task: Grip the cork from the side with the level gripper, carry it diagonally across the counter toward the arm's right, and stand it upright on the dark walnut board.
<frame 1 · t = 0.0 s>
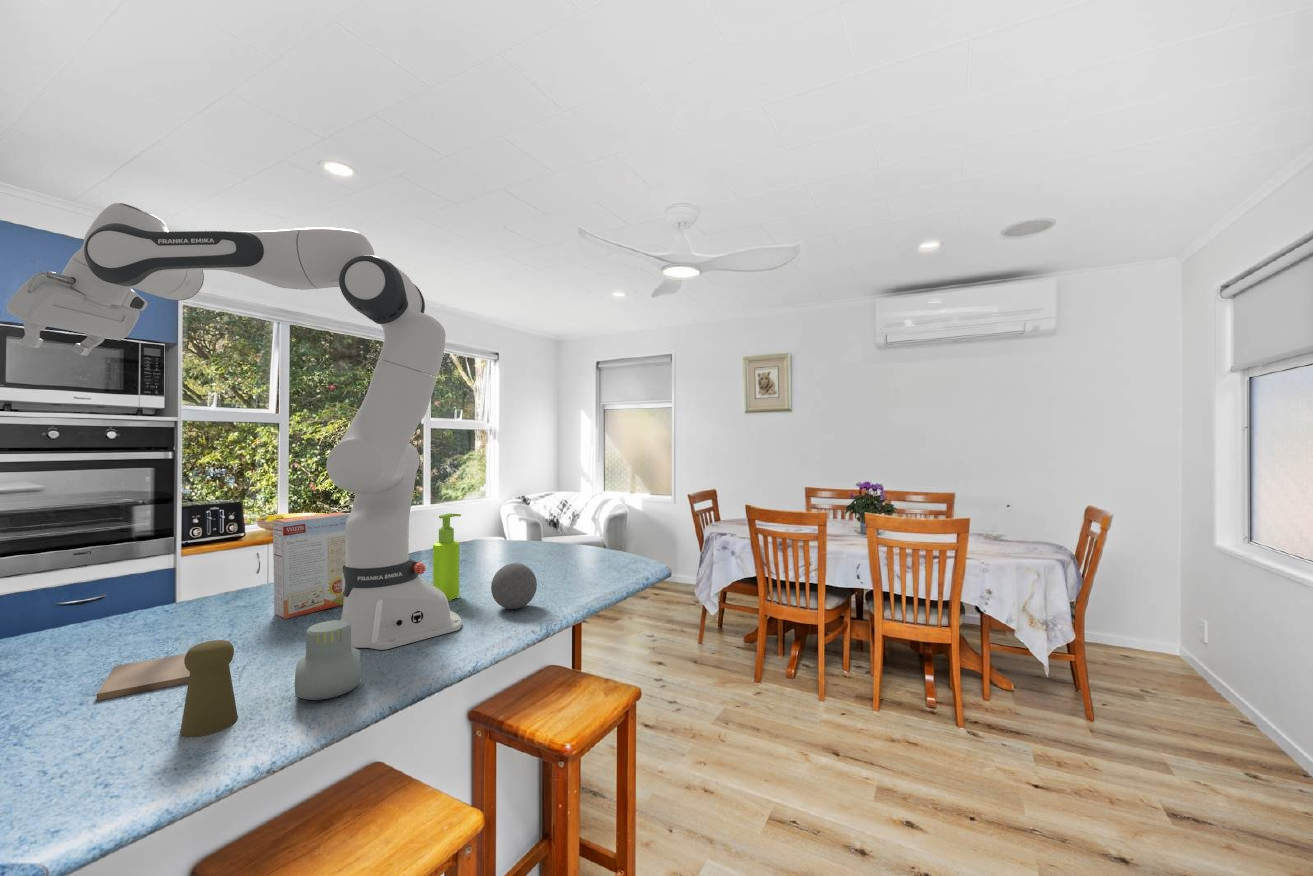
hand: (55, 350, 101), 54 cm above the countertop, tool tilted 30°, fingers open, 8 cm apart
cork: (209, 726, 74), on the countertop
soap dispenser: (447, 598, 133), on the countertop
decorative ball: (514, 609, 125), on the countertop
walnut board: (157, 676, 89), on the countertop
cracker box: (313, 610, 124), on the countertop
air freshener: (329, 693, 84), on the countertop
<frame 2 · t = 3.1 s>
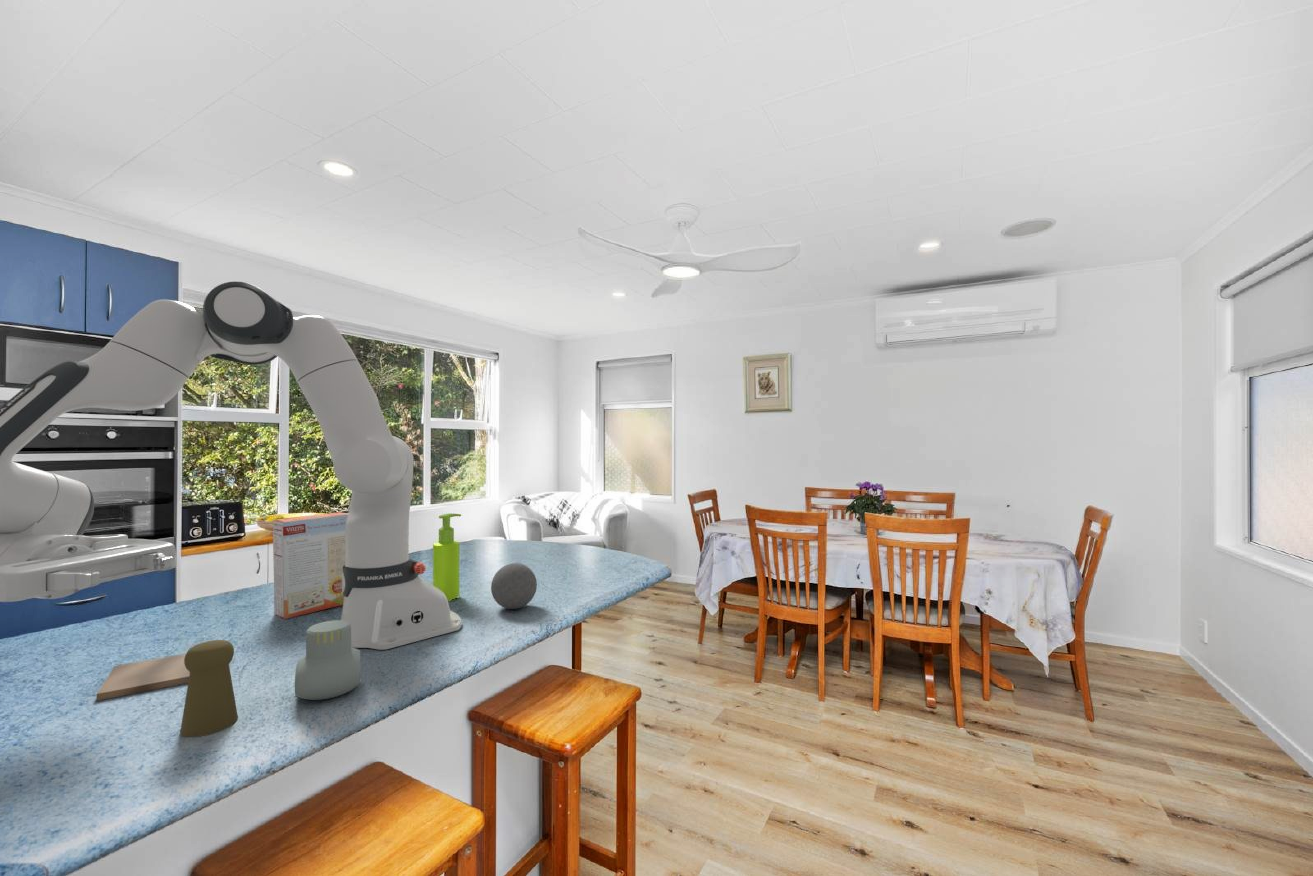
hand: (133, 571, 76), 20 cm above the countertop, tool horizontal, fingers open, 8 cm apart
nothing on the countertop moved.
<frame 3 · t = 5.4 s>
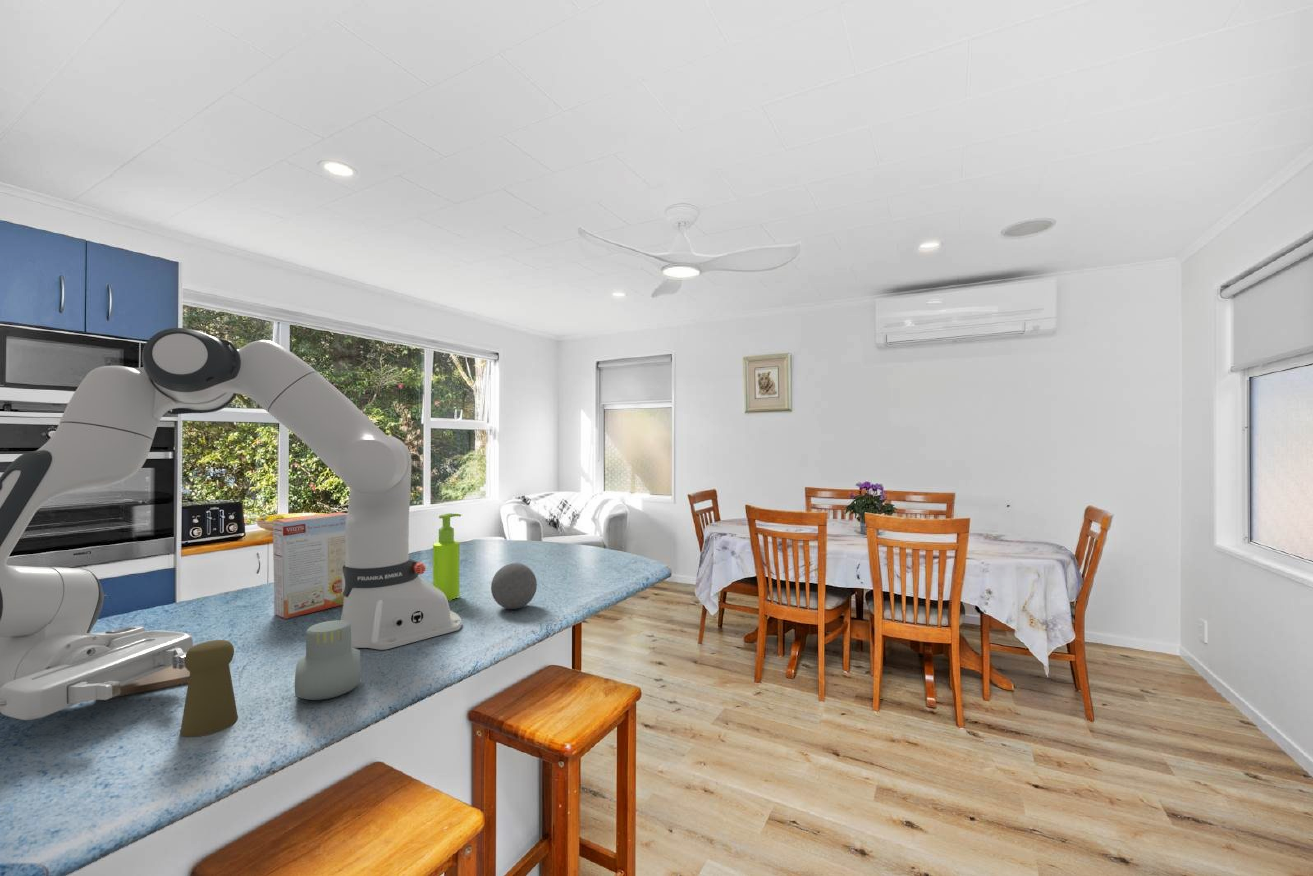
hand: (153, 675, 76), 6 cm above the countertop, tool horizontal, fingers open, 8 cm apart
nothing on the countertop moved.
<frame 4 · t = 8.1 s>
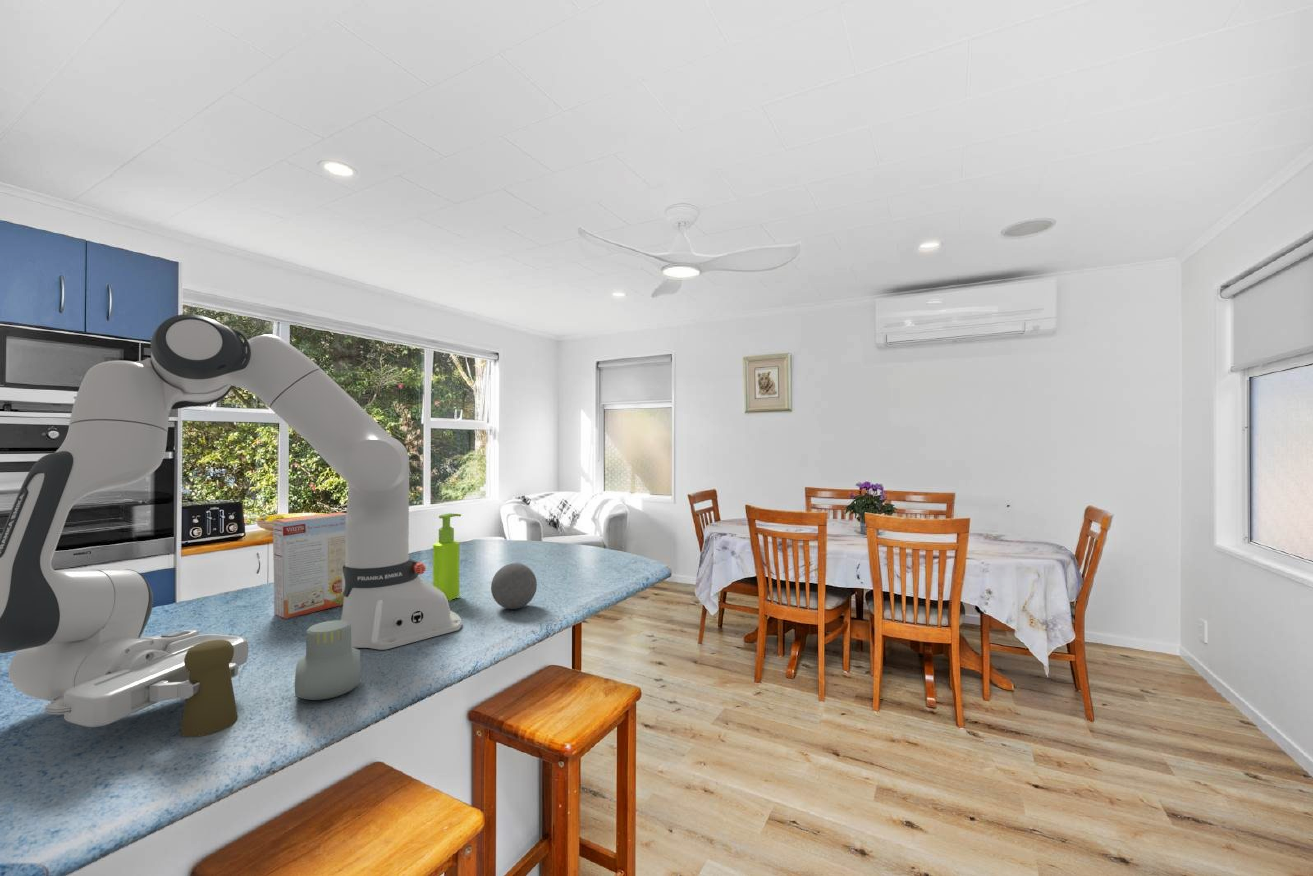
hand: (215, 680, 74), 6 cm above the countertop, tool horizontal, fingers closed on cork, 4 cm apart
cork: (209, 726, 74), on the countertop, touching gripper
everything else where it was.
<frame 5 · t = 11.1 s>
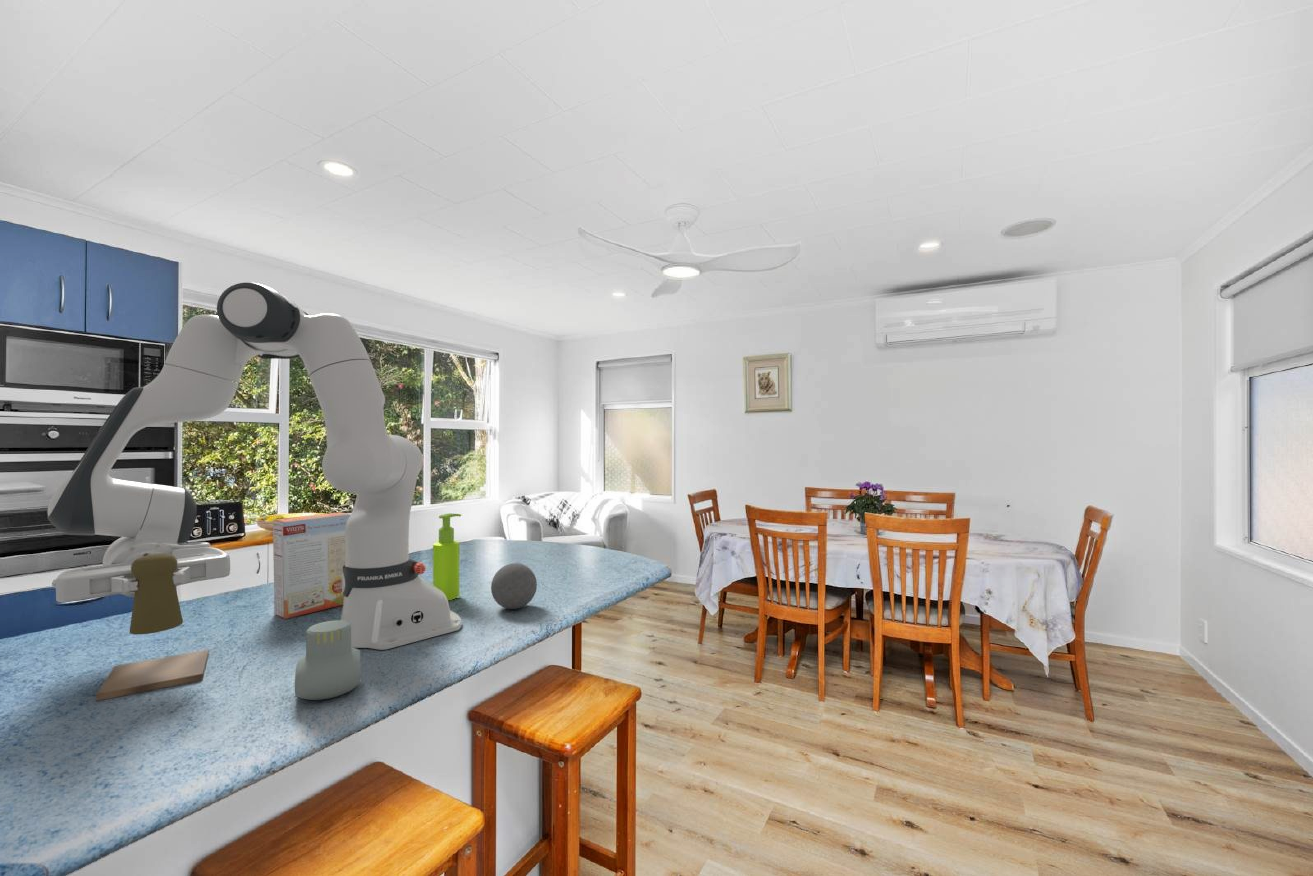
hand: (155, 583, 83), 17 cm above the countertop, tool horizontal, fingers closed on cork, 4 cm apart
cork: (156, 628, 84), point 10 cm above the countertop, touching gripper
everything else where it was.
when the fingers open (8 cm above the countertop, at t = 14.0 s): cork moves 2 cm, point 1 cm above the countertop.
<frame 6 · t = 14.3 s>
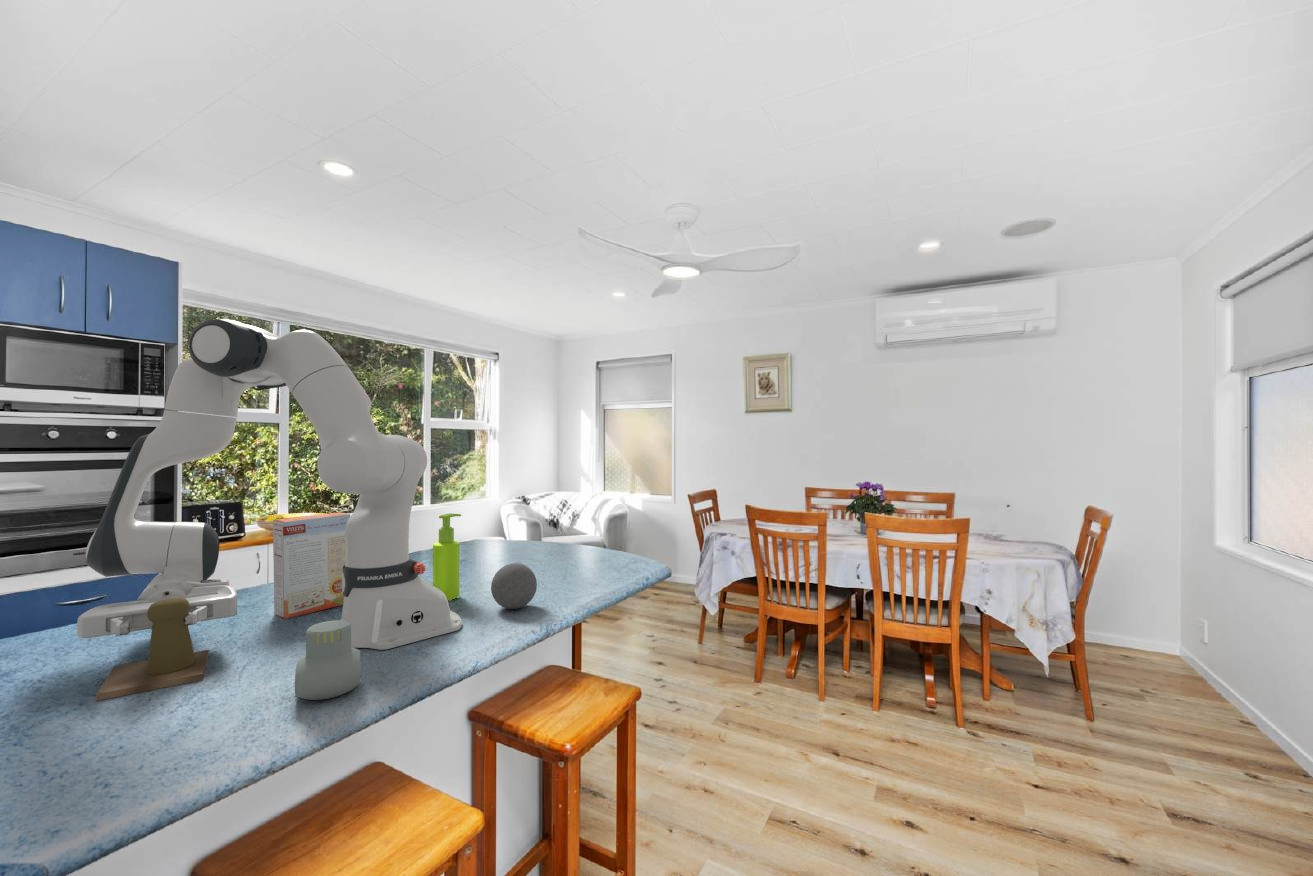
hand: (157, 625, 88), 8 cm above the countertop, tool horizontal, fingers open, 7 cm apart
cork: (171, 667, 90), point 1 cm above the countertop, touching gripper
everything else where it was.
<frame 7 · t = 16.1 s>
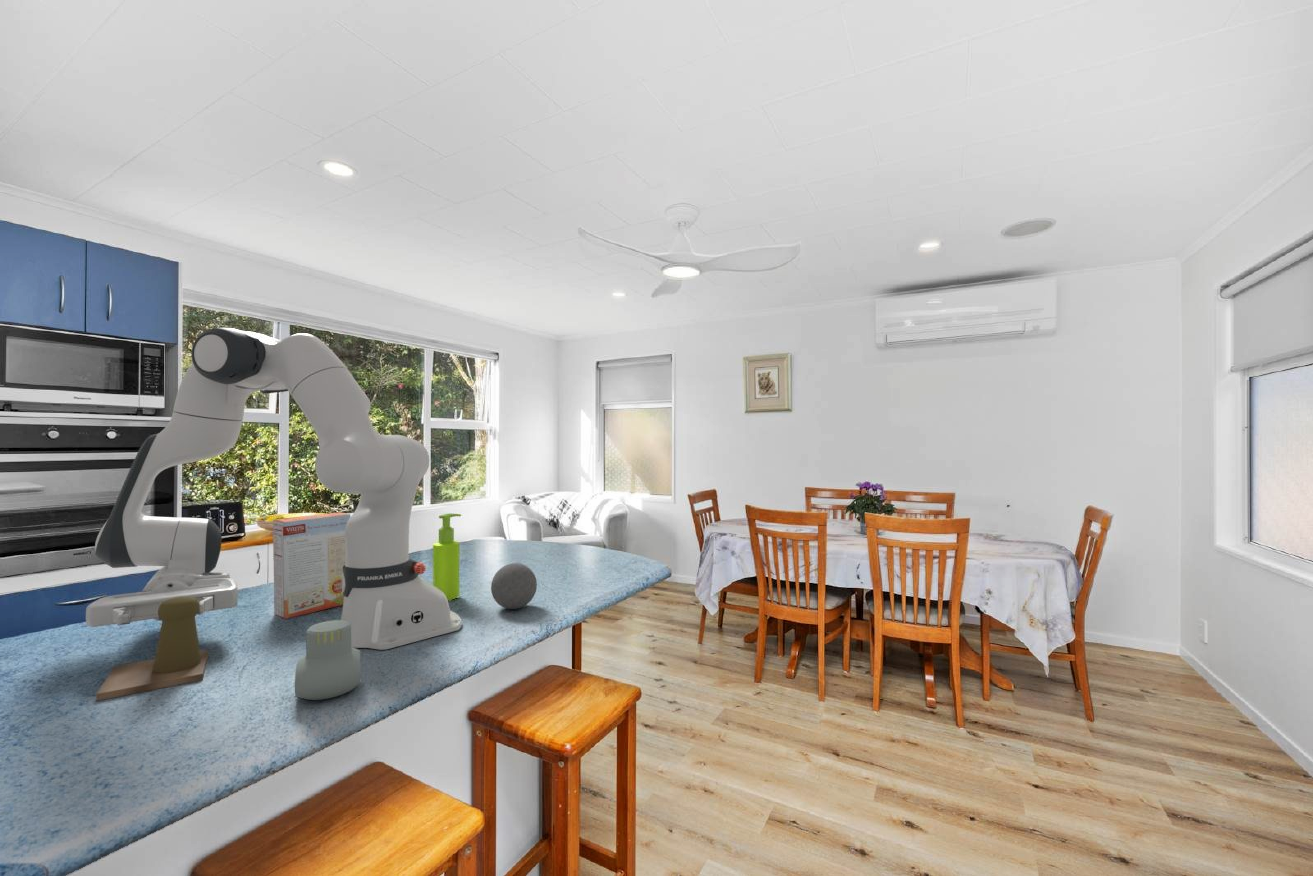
hand: (161, 614, 93), 9 cm above the countertop, tool horizontal, fingers open, 8 cm apart
cork: (177, 666, 91), point 1 cm above the countertop, touching walnut board
everything else where it was.
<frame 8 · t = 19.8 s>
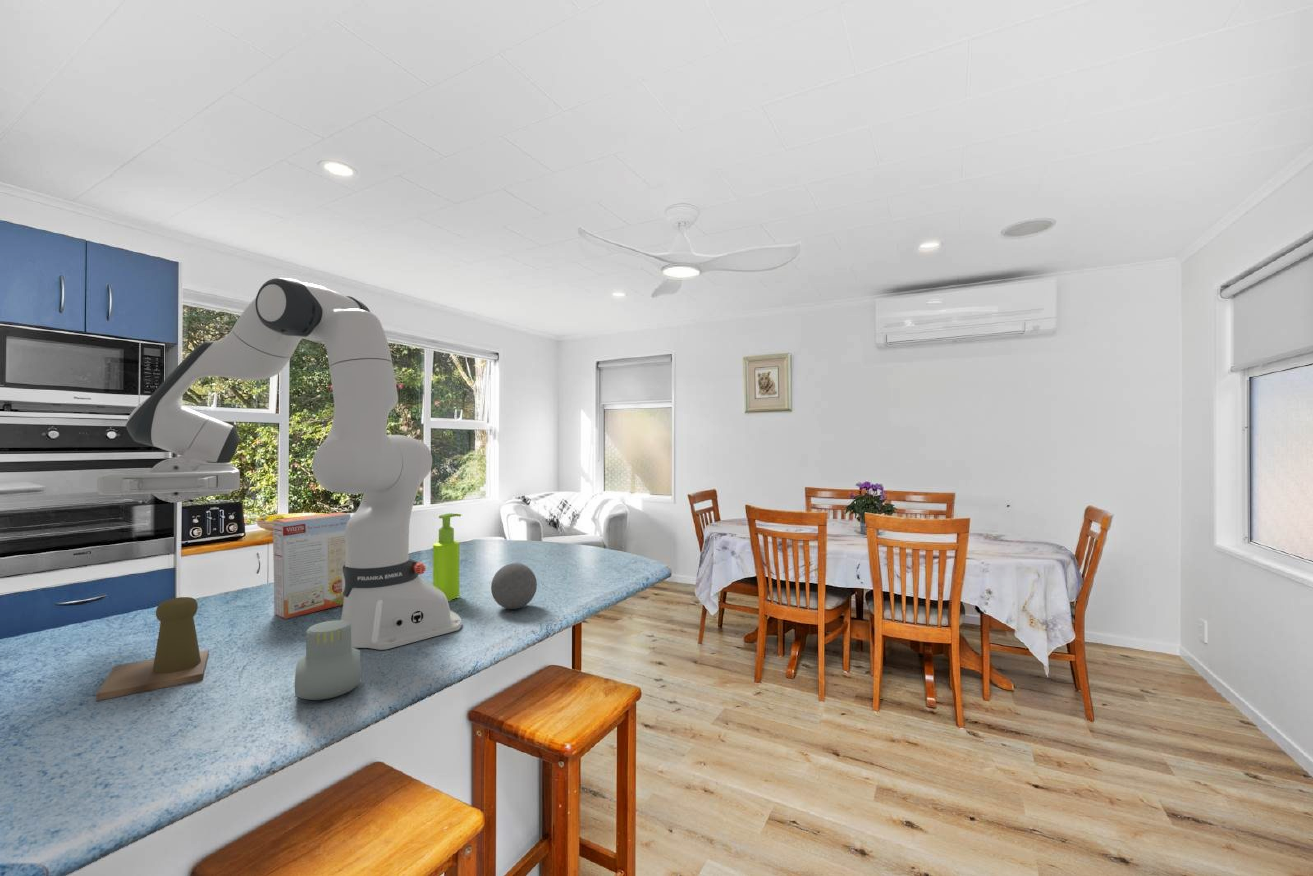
hand: (168, 484, 99), 30 cm above the countertop, tool horizontal, fingers open, 8 cm apart
nothing on the countertop moved.
at the end: cork inside the target area on the walnut board (2.3 cm from its centre), point 0.8 cm above the walnut board's base; cork tilted 0°; the gripper is holding nothing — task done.
